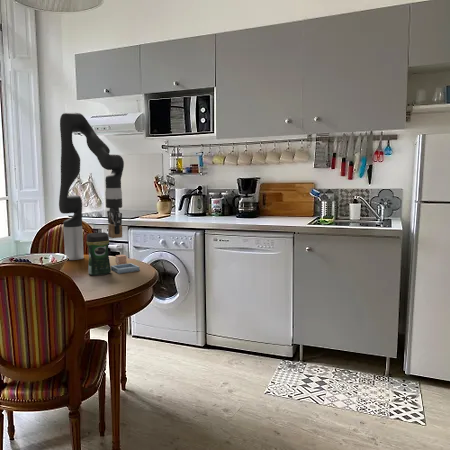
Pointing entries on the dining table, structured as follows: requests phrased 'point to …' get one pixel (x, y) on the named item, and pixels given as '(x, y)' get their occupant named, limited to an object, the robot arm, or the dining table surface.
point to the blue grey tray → (125, 268)
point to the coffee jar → (98, 253)
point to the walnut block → (112, 231)
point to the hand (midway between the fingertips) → (115, 233)
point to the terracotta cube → (121, 259)
